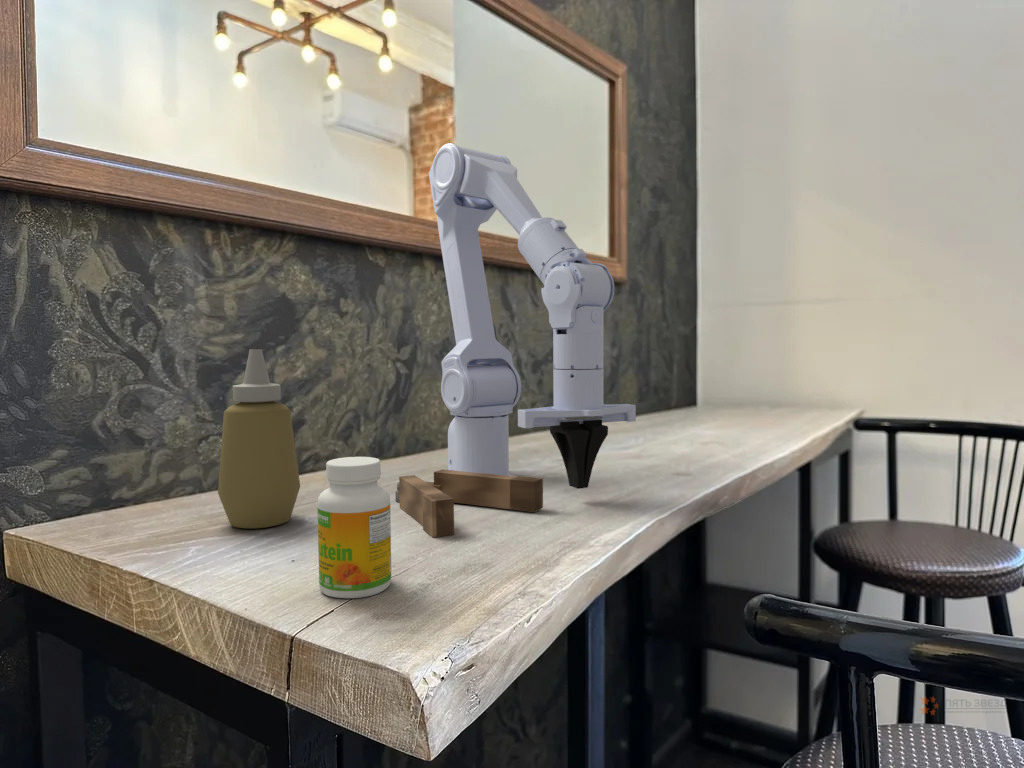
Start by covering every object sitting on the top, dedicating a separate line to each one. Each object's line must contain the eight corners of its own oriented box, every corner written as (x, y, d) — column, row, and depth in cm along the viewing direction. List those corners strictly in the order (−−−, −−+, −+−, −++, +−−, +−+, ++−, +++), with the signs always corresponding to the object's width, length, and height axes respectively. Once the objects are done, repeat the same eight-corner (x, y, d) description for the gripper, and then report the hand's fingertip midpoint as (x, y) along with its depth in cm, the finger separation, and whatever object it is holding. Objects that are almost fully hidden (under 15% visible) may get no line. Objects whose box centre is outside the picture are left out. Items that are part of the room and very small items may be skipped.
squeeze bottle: (274, 535, 66) (269, 349, 65) (200, 531, 67) (194, 350, 66) (315, 514, 74) (311, 348, 72) (248, 511, 75) (243, 349, 74)
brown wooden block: (385, 498, 81) (385, 469, 81) (421, 495, 83) (420, 466, 82) (432, 537, 65) (431, 501, 65) (475, 531, 67) (474, 496, 66)
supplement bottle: (303, 592, 51) (300, 463, 50) (352, 571, 55) (349, 453, 55) (359, 605, 48) (357, 469, 47) (405, 581, 53) (403, 458, 52)
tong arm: (391, 499, 80) (391, 471, 79) (412, 492, 83) (412, 465, 83) (526, 516, 72) (526, 485, 71) (543, 507, 75) (543, 478, 75)
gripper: (537, 371, 71) (538, 500, 72) (651, 368, 77) (651, 487, 78) (509, 369, 77) (510, 487, 78) (616, 366, 83) (616, 476, 84)
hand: (578, 486), depth 78 cm, fingers closed
